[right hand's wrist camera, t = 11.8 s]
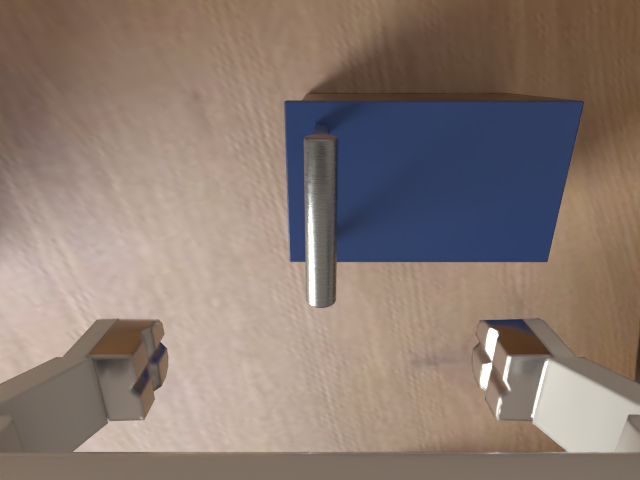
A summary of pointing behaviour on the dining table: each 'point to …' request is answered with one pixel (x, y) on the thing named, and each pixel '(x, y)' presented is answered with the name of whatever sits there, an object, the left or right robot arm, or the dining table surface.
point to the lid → (423, 182)
